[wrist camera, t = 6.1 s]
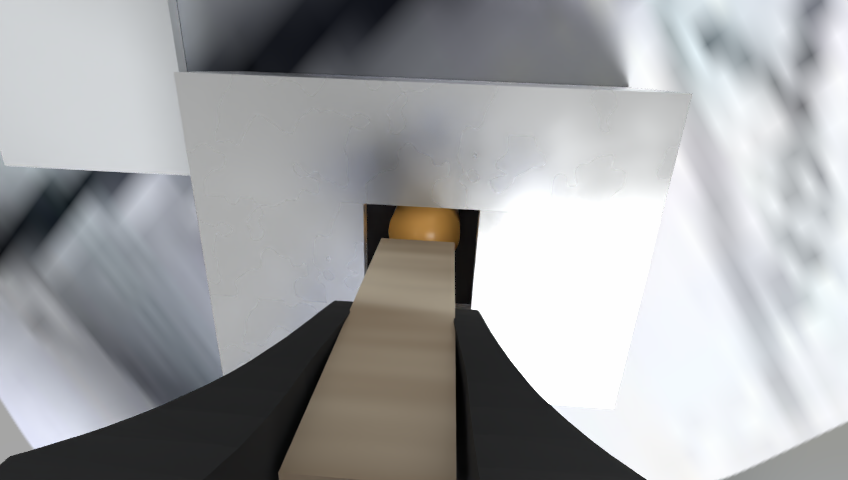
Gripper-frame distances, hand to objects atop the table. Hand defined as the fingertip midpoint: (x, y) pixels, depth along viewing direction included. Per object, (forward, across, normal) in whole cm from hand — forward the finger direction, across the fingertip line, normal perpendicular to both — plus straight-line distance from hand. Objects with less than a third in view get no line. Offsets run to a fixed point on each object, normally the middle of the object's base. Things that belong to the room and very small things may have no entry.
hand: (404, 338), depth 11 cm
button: (+10, 0, 0) cm, 10 cm away
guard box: (+10, 0, 0) cm, 10 cm away
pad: (+10, +15, -6) cm, 19 cm away
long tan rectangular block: (+4, 0, 0) cm, 4 cm away
